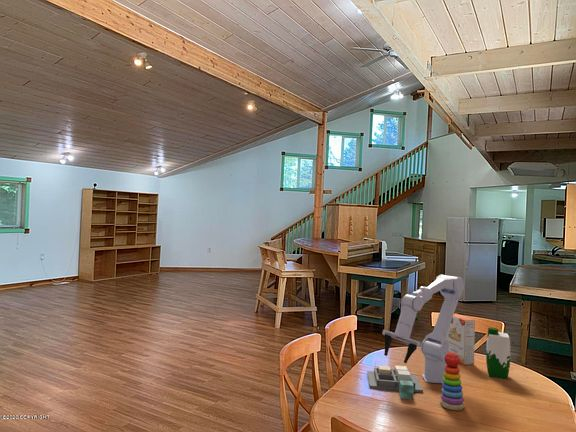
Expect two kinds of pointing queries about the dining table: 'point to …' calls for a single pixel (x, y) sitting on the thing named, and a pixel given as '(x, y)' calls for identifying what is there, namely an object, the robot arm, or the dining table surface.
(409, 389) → the teal block
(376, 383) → the puzzle board
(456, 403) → the stacking toy
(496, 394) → the dining table surface
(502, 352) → the milk carton
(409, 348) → the robot arm
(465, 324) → the cracker box
